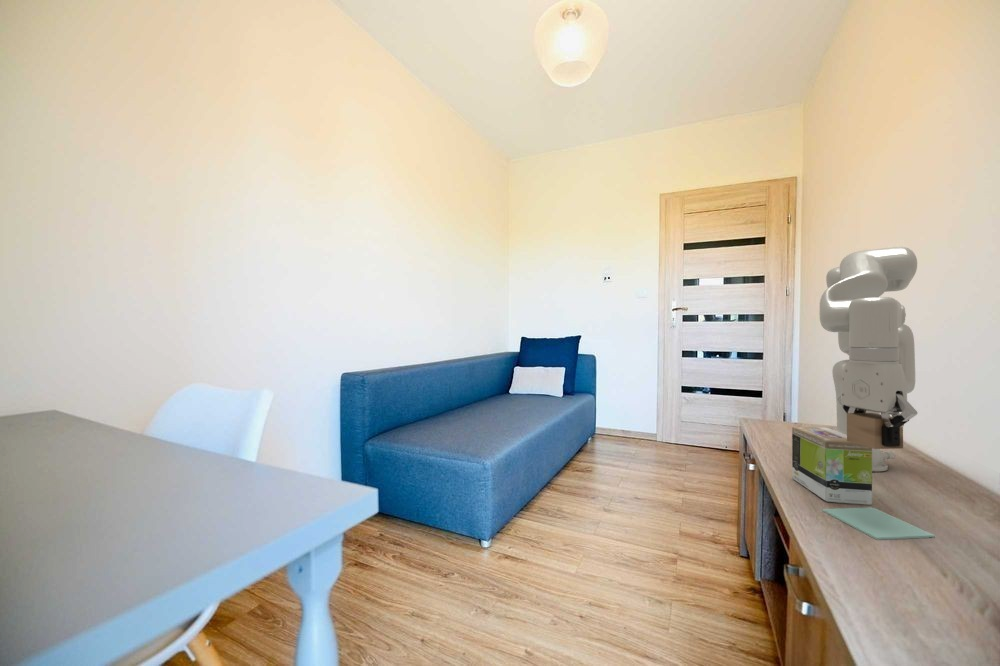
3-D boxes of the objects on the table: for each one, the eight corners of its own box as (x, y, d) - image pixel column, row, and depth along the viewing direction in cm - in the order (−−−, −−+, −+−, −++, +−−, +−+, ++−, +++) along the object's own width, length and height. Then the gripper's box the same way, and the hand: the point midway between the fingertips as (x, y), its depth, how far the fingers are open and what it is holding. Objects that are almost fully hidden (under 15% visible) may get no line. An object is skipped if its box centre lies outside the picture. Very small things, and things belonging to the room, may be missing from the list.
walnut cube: (873, 440, 84) (872, 412, 84) (903, 448, 78) (902, 418, 78) (846, 440, 84) (846, 413, 84) (875, 449, 78) (874, 419, 78)
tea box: (874, 506, 89) (874, 442, 89) (825, 502, 91) (824, 440, 91) (832, 481, 104) (832, 426, 104) (790, 478, 106) (790, 425, 106)
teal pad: (872, 509, 87) (872, 507, 87) (934, 537, 75) (934, 535, 75) (822, 510, 87) (822, 509, 87) (876, 539, 75) (876, 537, 75)
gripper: (820, 354, 89) (820, 431, 89) (900, 358, 72) (901, 454, 72) (851, 353, 90) (851, 430, 90) (938, 358, 72) (939, 453, 72)
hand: (874, 440), depth 81 cm, fingers closed on walnut cube, 6 cm apart
